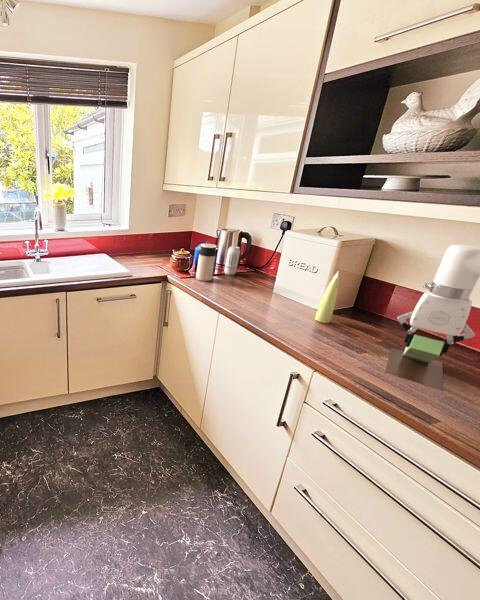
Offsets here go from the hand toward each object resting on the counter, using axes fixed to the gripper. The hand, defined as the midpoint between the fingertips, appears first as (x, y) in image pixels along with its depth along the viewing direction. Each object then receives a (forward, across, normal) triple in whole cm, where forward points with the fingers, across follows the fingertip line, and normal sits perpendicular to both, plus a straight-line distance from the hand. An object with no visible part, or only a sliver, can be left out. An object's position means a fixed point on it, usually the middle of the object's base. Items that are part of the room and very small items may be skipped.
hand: (423, 349), depth 97 cm
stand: (+7, 0, +1) cm, 7 cm away
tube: (+7, -27, +21) cm, 35 cm away
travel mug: (+7, -82, +37) cm, 91 cm away
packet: (+3, 0, +1) cm, 3 cm away
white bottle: (+7, -76, +56) cm, 95 cm away
